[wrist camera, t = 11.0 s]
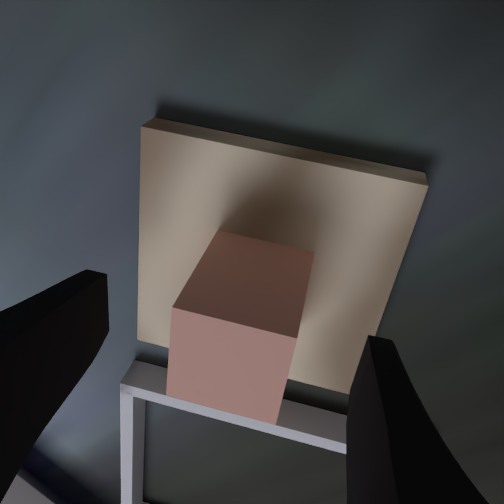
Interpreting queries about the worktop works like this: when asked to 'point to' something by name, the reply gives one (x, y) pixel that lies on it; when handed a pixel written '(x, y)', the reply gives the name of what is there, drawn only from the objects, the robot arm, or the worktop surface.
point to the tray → (154, 389)
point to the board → (276, 231)
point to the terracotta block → (238, 326)
